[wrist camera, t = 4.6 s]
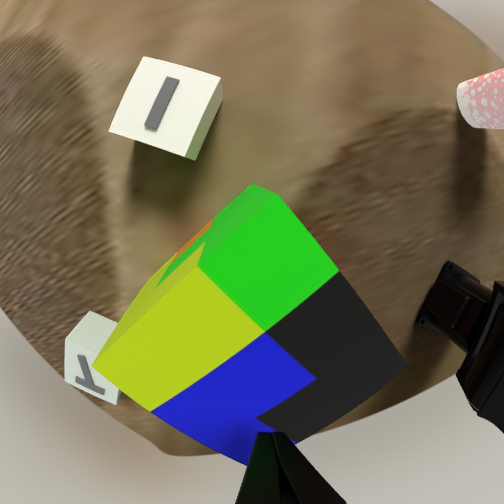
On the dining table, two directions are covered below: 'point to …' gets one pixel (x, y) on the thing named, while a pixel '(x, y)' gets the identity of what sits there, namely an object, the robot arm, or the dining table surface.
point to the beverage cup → (483, 100)
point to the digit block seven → (89, 356)
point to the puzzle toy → (249, 334)
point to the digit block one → (169, 107)
